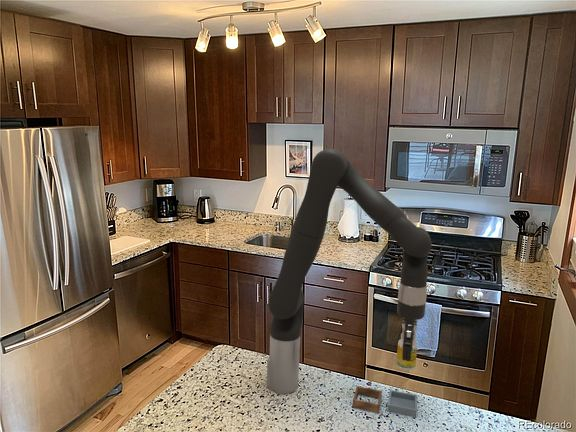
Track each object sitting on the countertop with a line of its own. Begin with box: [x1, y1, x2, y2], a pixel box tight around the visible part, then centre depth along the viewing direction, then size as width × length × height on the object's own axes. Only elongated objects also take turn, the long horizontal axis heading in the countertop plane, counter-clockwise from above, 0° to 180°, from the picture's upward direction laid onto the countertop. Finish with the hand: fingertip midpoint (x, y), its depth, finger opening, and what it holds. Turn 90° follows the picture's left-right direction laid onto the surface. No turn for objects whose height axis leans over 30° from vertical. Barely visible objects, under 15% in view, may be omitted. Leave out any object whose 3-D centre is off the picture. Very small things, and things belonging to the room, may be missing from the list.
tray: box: [386, 389, 418, 418], centre depth 128 cm, size 8×8×2 cm
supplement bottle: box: [396, 333, 418, 371], centre depth 125 cm, size 5×5×10 cm
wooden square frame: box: [351, 385, 383, 414], centre depth 129 cm, size 8×8×2 cm
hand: (406, 354), depth 125 cm, fingers closed on supplement bottle, 5 cm apart
